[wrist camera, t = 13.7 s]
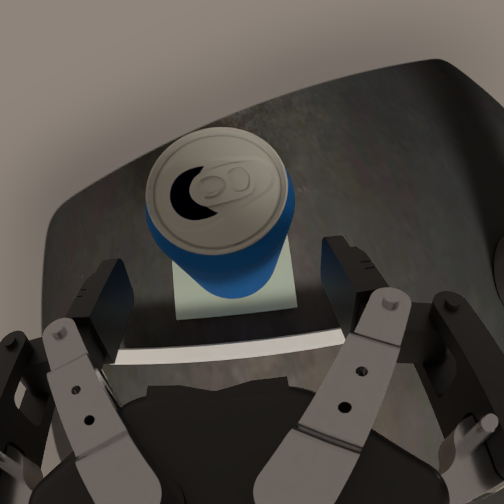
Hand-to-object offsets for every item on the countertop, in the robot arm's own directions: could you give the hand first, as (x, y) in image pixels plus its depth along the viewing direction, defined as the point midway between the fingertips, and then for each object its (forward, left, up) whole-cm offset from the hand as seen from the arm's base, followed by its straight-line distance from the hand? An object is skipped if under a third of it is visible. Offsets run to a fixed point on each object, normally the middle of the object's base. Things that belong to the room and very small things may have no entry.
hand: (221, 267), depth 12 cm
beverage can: (0, -3, -11) cm, 12 cm away
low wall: (0, +4, -11) cm, 12 cm away
